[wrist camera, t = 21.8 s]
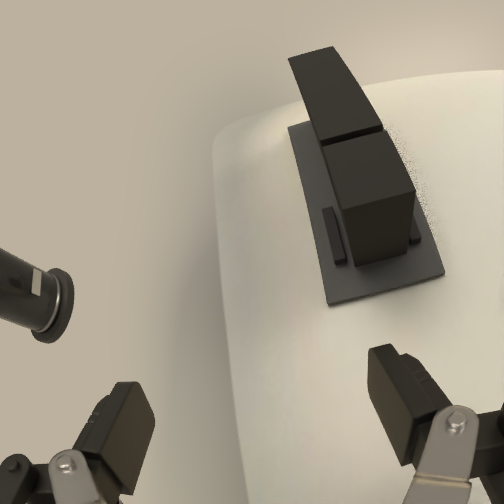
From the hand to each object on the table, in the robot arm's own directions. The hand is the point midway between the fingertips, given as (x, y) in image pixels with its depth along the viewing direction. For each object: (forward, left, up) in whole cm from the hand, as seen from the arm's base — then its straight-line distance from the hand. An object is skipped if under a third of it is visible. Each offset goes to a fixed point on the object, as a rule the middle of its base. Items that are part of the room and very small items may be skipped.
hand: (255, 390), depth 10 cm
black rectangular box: (+4, +12, -14) cm, 19 cm away
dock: (+3, +18, -14) cm, 23 cm away
